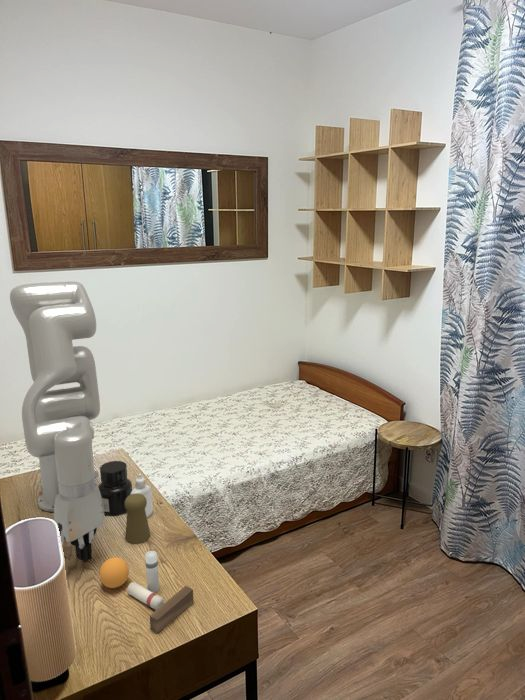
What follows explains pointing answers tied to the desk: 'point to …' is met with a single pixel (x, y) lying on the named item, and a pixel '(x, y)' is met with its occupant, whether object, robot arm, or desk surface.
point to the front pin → (145, 595)
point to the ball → (114, 572)
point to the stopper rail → (171, 609)
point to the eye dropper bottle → (144, 493)
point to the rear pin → (152, 571)
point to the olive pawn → (136, 519)
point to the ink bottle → (114, 487)
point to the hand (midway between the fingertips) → (84, 558)
